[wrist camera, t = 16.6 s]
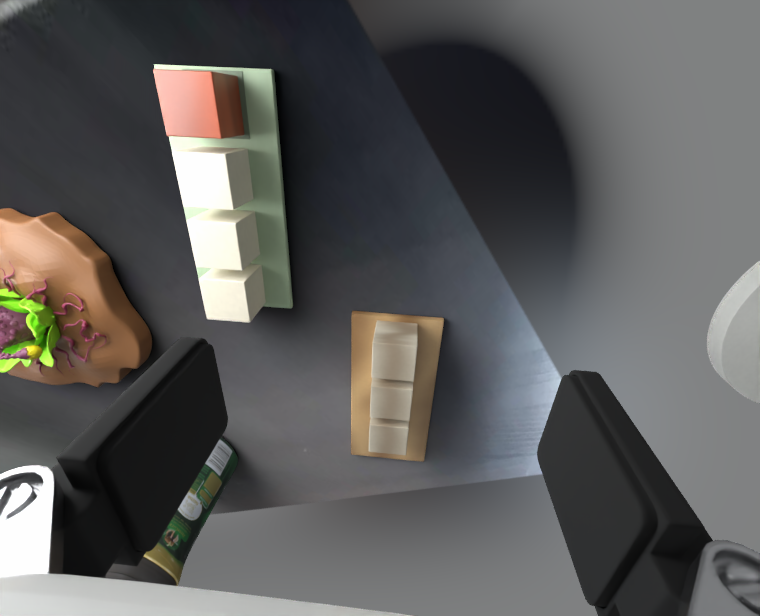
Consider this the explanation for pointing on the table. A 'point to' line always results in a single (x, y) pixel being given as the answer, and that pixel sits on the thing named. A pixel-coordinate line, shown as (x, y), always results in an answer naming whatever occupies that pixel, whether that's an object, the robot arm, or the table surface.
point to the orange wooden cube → (199, 103)
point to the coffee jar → (183, 523)
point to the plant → (63, 306)
